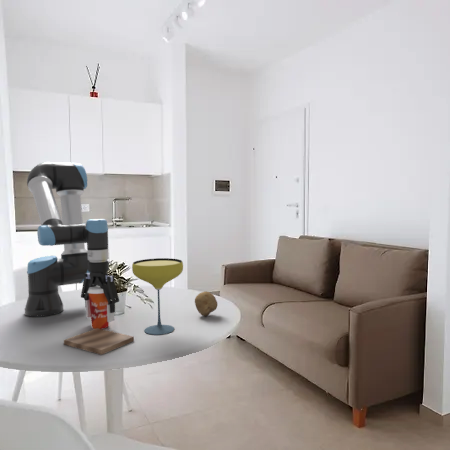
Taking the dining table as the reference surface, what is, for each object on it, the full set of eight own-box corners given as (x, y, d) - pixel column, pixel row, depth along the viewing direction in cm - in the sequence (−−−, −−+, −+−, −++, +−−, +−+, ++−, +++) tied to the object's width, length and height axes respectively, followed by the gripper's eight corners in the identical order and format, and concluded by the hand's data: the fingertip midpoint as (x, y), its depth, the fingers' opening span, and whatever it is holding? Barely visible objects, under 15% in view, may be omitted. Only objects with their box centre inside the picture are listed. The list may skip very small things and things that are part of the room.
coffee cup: (90, 331, 149) (89, 290, 148) (87, 325, 156) (85, 286, 155) (114, 327, 153) (112, 288, 152) (109, 322, 160) (108, 284, 159)
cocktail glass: (177, 320, 161) (176, 257, 159) (190, 334, 144) (188, 263, 143) (130, 325, 155) (128, 260, 153) (138, 341, 138) (136, 267, 136)
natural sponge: (212, 311, 172) (212, 288, 172) (221, 317, 164) (220, 292, 163) (192, 314, 169) (191, 290, 168) (199, 320, 160) (199, 295, 160)
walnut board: (63, 344, 136) (63, 339, 136) (97, 332, 148) (97, 328, 148) (101, 354, 127) (101, 349, 126) (133, 340, 138) (133, 336, 138)
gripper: (69, 259, 155) (71, 316, 157) (112, 264, 143) (114, 326, 145) (85, 257, 162) (87, 312, 163) (128, 261, 150) (130, 320, 151)
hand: (100, 318), depth 154 cm, fingers open, 11 cm apart
